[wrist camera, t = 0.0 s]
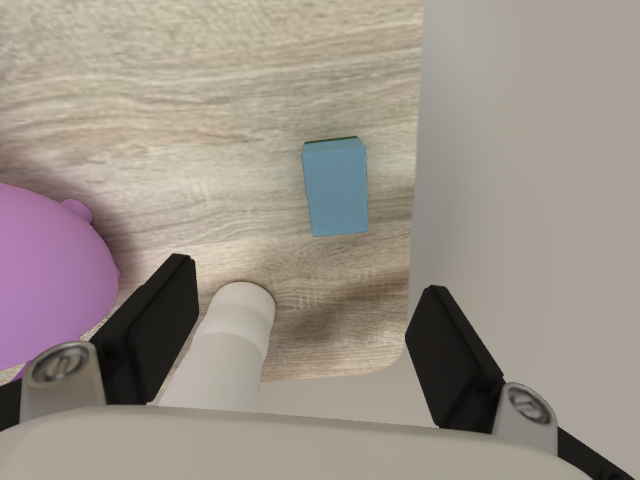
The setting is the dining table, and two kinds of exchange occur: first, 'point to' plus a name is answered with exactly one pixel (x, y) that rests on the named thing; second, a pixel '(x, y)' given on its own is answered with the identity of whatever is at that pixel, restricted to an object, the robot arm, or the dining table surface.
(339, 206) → the sponge
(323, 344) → the dining table surface
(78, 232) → the teapot
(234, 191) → the dining table surface
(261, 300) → the water bottle
